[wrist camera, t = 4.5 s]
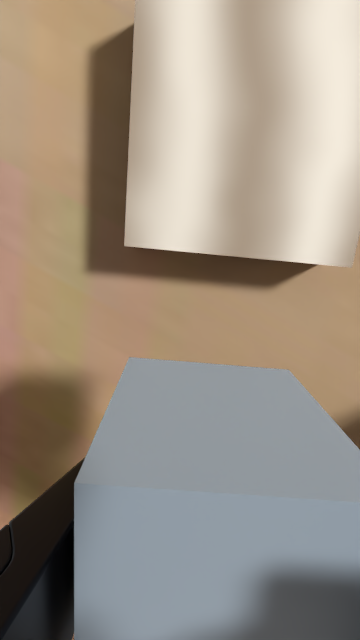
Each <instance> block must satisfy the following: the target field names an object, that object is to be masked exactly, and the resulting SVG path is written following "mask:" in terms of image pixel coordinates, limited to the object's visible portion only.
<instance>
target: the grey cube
mask: <svg viewBox="0 0 360 640" xmlns="http://www.w3.org/2000/svg"><path fill="white" fill-rule="evenodd" d="M74 640H360V450H359V448H358V447H357V446H356V445H355V444H354V443H353V442H352V441H351V439H350V438H349V437H348V436H347V435H346V434H345V433H344V432H343V430H342V429H341V428H340V427H339V426H338V425H337V424H336V423H335V421H334V420H333V419H332V418H331V417H330V416H329V415H328V414H327V412H326V411H325V410H324V409H323V408H322V407H321V406H320V405H319V403H318V402H317V401H316V400H315V399H314V398H313V397H312V396H311V394H310V393H309V392H308V391H307V390H306V389H305V388H304V387H303V385H302V384H301V383H300V382H299V381H298V380H297V379H296V378H295V376H294V375H293V374H292V373H291V372H290V371H289V370H284V369H271V368H259V367H246V366H233V365H221V364H208V363H195V362H183V361H170V360H157V359H145V358H132V357H129V359H128V362H127V364H126V366H125V369H124V371H123V373H122V375H121V378H120V380H119V382H118V384H117V387H116V389H115V391H114V394H113V396H112V398H111V400H110V403H109V405H108V407H107V410H106V412H105V414H104V416H103V419H102V421H101V423H100V425H99V428H98V430H97V432H96V435H95V437H94V439H93V441H92V444H91V446H90V448H89V451H88V453H87V455H86V457H85V460H84V462H83V464H82V466H81V469H80V471H79V473H78V476H77V478H76V480H75V482H74Z"/></svg>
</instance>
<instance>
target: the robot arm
mask: <svg viewBox="0 0 360 640" xmlns="http://www.w3.org/2000/svg"><path fill="white" fill-rule="evenodd" d="M84 460H85V458H84V459H83V460H81V461H80V462H79V463H78V464H77V465H76V466H74V467H73V468H72V469H71V470H70V471H69V472H67V473H66V474H65V475H64V476H63V477H62V478H60V479H59V480H58V481H57V482H56V483H55V484H53V485H52V486H51V487H50V488H49V489H48V490H46V491H45V492H44V493H43V494H42V495H41V496H39V497H38V498H37V499H36V500H35V501H34V502H32V503H31V504H30V505H29V506H28V507H27V508H25V509H24V510H23V511H22V512H21V513H20V514H18V515H17V516H16V517H15V518H14V519H13V520H11V521H10V522H9V525H5V526H4V527H3V528H2V529H1V530H0V640H72V637H73V634H74V482H75V480H76V478H77V476H78V473H79V471H80V469H81V466H82V464H83V462H84Z"/></svg>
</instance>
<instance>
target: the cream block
mask: <svg viewBox="0 0 360 640" xmlns="http://www.w3.org/2000/svg"><path fill="white" fill-rule="evenodd" d="M359 235H360V0H135V16H134V38H133V60H132V82H131V105H130V127H129V149H128V172H127V194H126V216H125V239H124V246H128V247H139V248H150V249H160V250H171V251H181V252H192V253H203V254H213V255H224V256H235V257H245V258H256V259H266V260H277V261H288V262H298V263H309V264H320V265H330V266H341V267H351V268H352V265H353V261H354V257H355V252H356V248H357V244H358V239H359Z"/></svg>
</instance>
